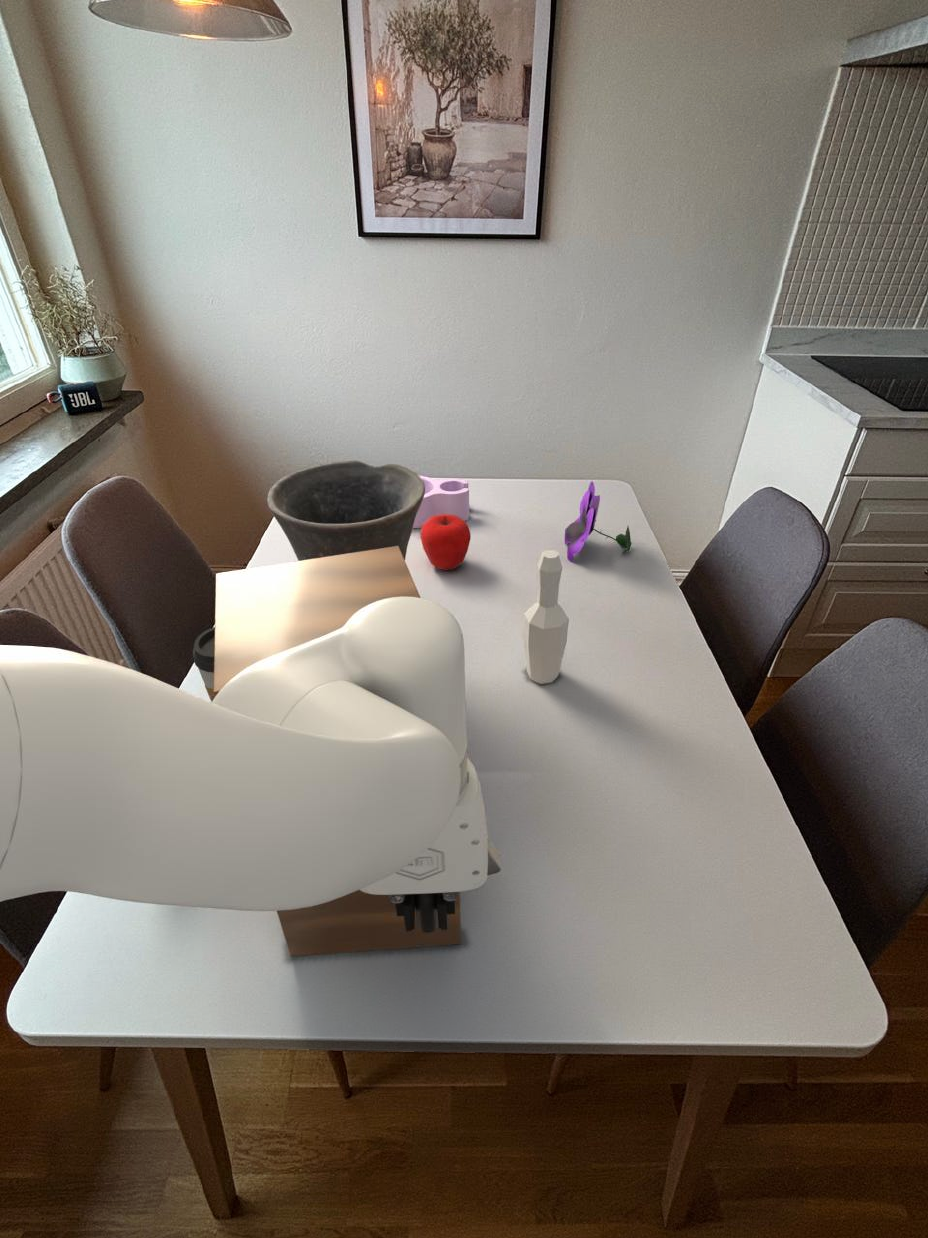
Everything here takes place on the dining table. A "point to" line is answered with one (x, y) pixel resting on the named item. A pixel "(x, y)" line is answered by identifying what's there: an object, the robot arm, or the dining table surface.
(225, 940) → the dining table surface
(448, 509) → the purple cup holder
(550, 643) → the faceted bottle
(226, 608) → the cupboard
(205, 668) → the coffee cup
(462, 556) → the apple
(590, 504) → the flower
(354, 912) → the cupboard door
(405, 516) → the vase
